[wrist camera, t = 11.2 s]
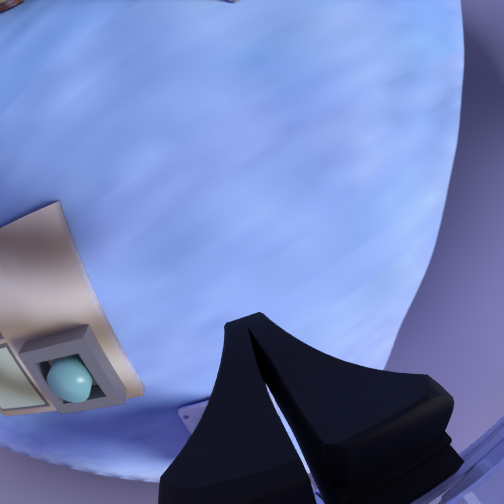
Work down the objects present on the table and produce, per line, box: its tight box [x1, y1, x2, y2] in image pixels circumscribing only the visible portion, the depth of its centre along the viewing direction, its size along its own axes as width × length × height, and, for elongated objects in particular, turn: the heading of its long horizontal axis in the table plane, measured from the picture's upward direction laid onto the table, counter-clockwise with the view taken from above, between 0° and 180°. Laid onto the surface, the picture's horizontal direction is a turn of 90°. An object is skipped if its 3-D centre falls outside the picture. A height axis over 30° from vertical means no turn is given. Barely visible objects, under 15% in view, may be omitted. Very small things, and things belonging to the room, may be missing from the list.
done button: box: [47, 354, 94, 403], centre depth 17 cm, size 3×3×2 cm
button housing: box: [18, 324, 127, 414], centre depth 18 cm, size 6×6×2 cm
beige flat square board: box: [0, 201, 144, 416], centre depth 17 cm, size 15×16×1 cm
